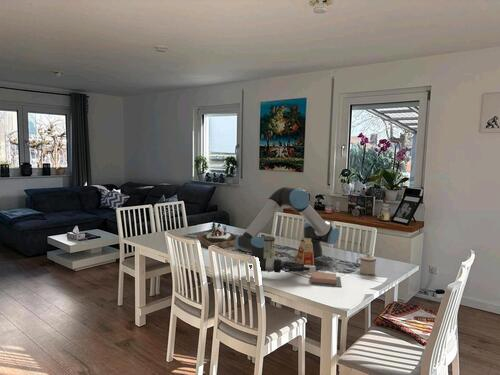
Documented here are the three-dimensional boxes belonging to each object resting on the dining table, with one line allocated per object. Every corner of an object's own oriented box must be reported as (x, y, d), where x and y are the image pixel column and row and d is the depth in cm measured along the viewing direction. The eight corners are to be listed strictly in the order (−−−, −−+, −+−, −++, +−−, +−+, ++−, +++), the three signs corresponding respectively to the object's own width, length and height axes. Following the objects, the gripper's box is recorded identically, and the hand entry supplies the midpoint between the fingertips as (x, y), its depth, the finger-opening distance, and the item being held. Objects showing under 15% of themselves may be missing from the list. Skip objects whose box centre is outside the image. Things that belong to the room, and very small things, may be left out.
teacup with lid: (377, 272, 228) (378, 253, 227) (371, 276, 222) (372, 256, 220) (359, 267, 236) (360, 249, 235) (352, 271, 230) (353, 252, 228)
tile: (310, 277, 208) (336, 279, 205) (311, 271, 217) (336, 273, 215) (310, 282, 208) (336, 284, 205) (311, 276, 218) (335, 278, 215)
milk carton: (303, 271, 227) (304, 239, 225) (294, 267, 235) (295, 235, 233) (315, 269, 231) (316, 237, 229) (306, 265, 239) (307, 234, 237)
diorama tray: (228, 236, 310) (228, 232, 310) (245, 244, 286) (245, 239, 286) (196, 240, 296) (196, 235, 295) (211, 249, 272) (211, 243, 271)
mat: (311, 284, 205) (311, 284, 205) (312, 275, 220) (312, 274, 220) (341, 287, 203) (341, 286, 202) (340, 277, 217) (340, 277, 217)
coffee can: (259, 255, 258) (260, 235, 256) (274, 256, 257) (275, 236, 255) (258, 260, 248) (259, 239, 246) (274, 261, 247) (275, 240, 245)
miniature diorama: (203, 245, 283) (203, 223, 281) (208, 239, 302) (208, 218, 300) (229, 246, 280) (229, 224, 279) (233, 240, 300) (233, 219, 298)
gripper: (275, 268, 222) (315, 271, 218) (272, 275, 210) (314, 279, 205) (275, 255, 221) (315, 259, 217) (272, 262, 209) (315, 265, 204)
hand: (315, 268), depth 211 cm, fingers closed
